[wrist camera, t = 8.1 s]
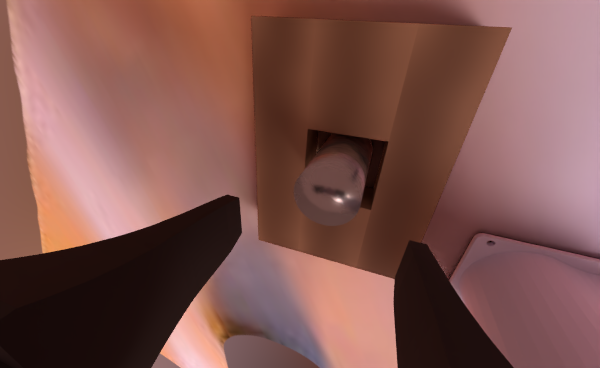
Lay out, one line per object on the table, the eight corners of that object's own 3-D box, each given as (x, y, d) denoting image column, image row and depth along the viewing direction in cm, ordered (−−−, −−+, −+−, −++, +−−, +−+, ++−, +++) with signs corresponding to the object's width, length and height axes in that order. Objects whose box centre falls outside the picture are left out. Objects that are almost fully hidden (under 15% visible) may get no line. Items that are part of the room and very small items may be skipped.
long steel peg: (379, 134, 17) (370, 179, 11) (364, 176, 18) (349, 234, 13) (331, 121, 17) (299, 157, 11) (321, 163, 19) (289, 213, 13)
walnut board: (487, 31, 13) (511, 27, 10) (402, 253, 21) (404, 281, 18) (273, 21, 15) (251, 15, 13) (272, 219, 23) (258, 239, 21)
